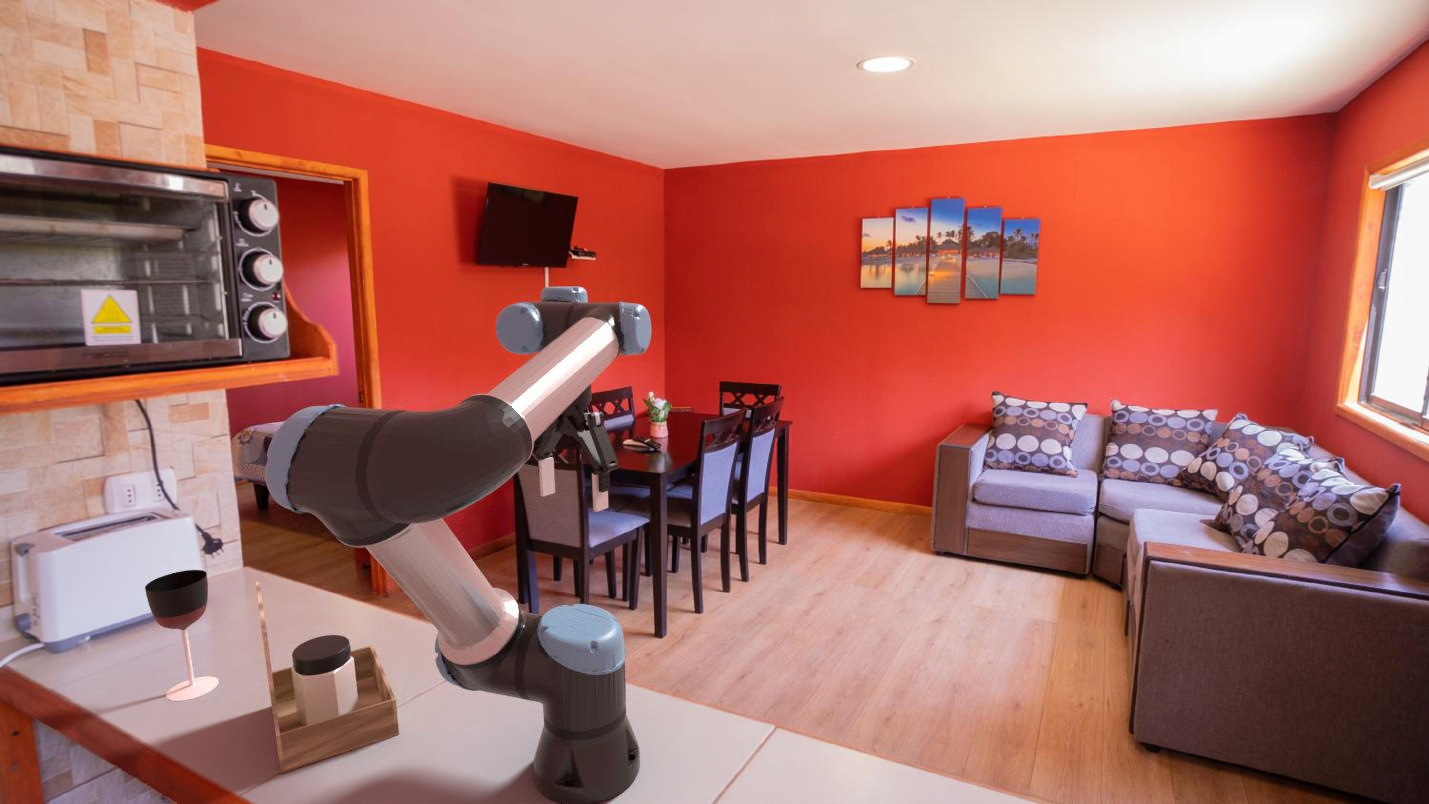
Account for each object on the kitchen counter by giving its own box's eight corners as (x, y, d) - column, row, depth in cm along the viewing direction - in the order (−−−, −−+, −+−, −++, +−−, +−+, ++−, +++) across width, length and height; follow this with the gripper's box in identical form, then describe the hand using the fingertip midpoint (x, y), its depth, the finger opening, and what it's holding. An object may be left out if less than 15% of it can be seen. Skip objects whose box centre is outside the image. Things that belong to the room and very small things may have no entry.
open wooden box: (399, 734, 115) (386, 602, 110) (280, 773, 106) (262, 632, 102) (375, 676, 131) (364, 559, 127) (271, 706, 122) (255, 582, 118)
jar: (366, 714, 119) (359, 646, 117) (312, 738, 113) (303, 667, 111) (344, 693, 125) (337, 628, 123) (291, 715, 119) (283, 646, 117)
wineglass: (233, 678, 130) (218, 572, 127) (185, 706, 122) (167, 594, 118) (199, 671, 133) (184, 567, 129) (150, 698, 125) (132, 588, 121)
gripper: (638, 384, 118) (641, 510, 122) (538, 371, 133) (544, 483, 137) (603, 390, 112) (608, 522, 116) (503, 376, 127) (510, 493, 131)
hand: (573, 501), depth 126 cm, fingers open, 13 cm apart
